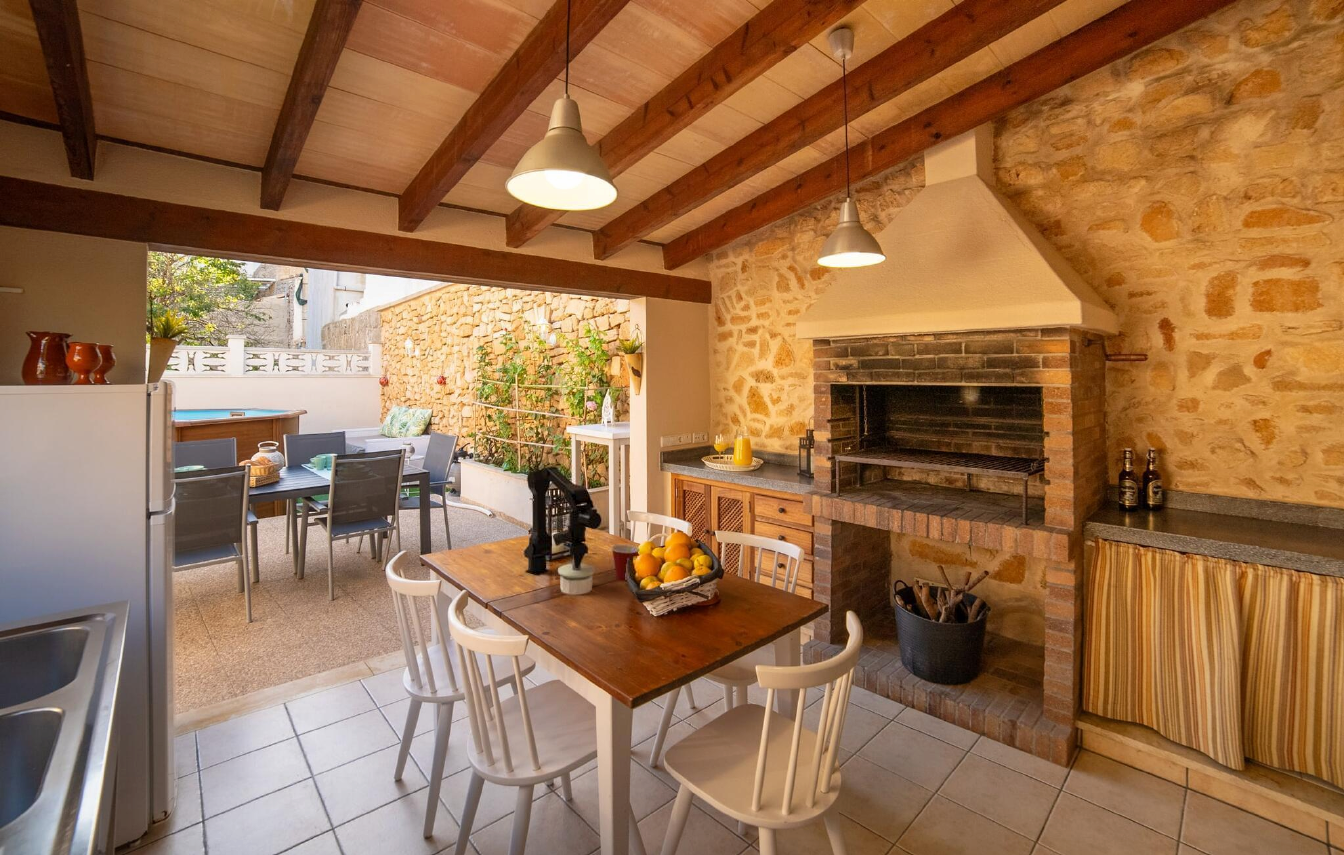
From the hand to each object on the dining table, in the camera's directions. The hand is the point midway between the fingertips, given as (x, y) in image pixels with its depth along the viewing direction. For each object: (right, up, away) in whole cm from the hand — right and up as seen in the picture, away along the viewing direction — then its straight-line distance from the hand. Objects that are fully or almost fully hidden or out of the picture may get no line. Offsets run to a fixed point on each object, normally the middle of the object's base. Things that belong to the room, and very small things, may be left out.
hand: (576, 566), depth 213 cm
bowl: (0, -8, +1) cm, 8 cm away
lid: (0, -2, 0) cm, 2 cm away
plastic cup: (+16, -8, +14) cm, 23 cm away
